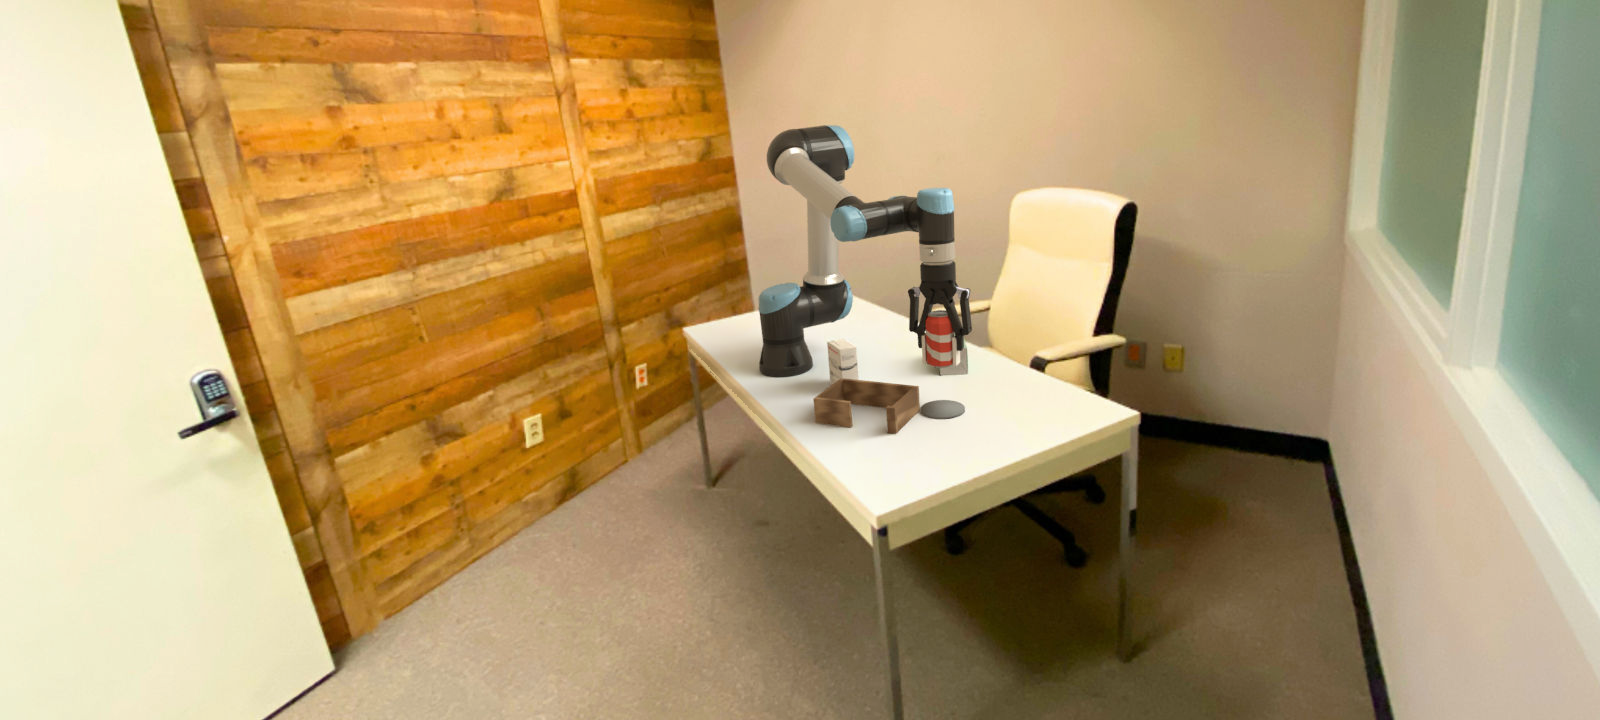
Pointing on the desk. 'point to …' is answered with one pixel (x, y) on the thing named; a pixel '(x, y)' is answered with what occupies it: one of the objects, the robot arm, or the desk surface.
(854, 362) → the ink box
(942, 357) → the beverage can
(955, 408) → the coaster
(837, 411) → the wooden enclosure
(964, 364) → the box
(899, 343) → the desk surface
